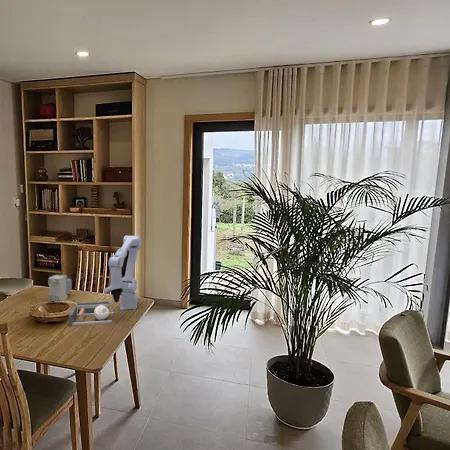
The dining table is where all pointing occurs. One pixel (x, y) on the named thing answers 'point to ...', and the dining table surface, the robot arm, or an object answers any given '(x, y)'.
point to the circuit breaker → (59, 287)
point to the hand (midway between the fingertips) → (116, 301)
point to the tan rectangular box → (82, 315)
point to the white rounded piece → (101, 312)
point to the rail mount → (88, 309)
